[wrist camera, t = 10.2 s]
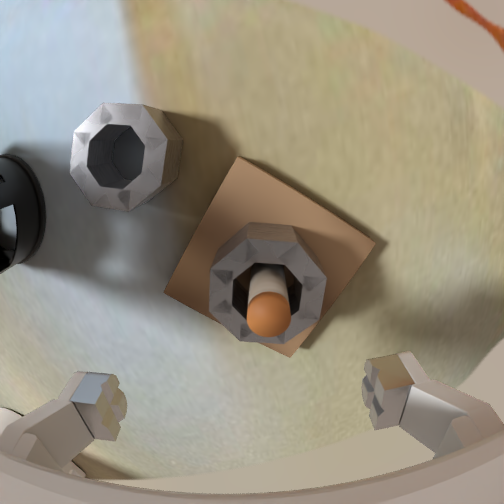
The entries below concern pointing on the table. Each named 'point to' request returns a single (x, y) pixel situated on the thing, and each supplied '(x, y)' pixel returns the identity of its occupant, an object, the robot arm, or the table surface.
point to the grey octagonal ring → (101, 153)
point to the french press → (21, 209)
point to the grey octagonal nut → (273, 252)
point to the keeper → (264, 274)
